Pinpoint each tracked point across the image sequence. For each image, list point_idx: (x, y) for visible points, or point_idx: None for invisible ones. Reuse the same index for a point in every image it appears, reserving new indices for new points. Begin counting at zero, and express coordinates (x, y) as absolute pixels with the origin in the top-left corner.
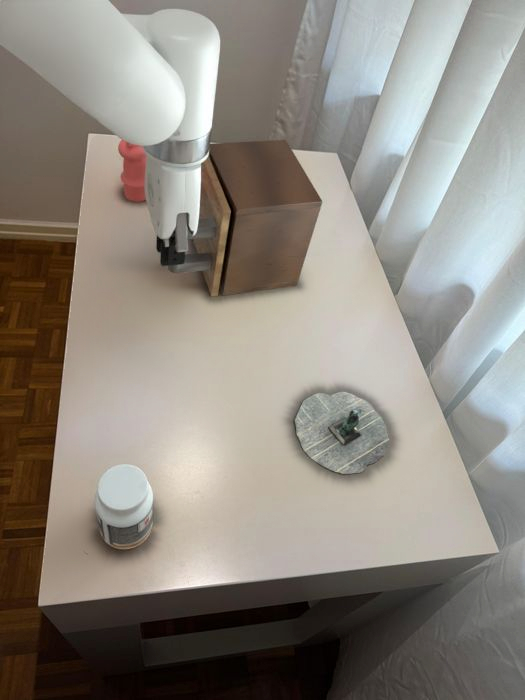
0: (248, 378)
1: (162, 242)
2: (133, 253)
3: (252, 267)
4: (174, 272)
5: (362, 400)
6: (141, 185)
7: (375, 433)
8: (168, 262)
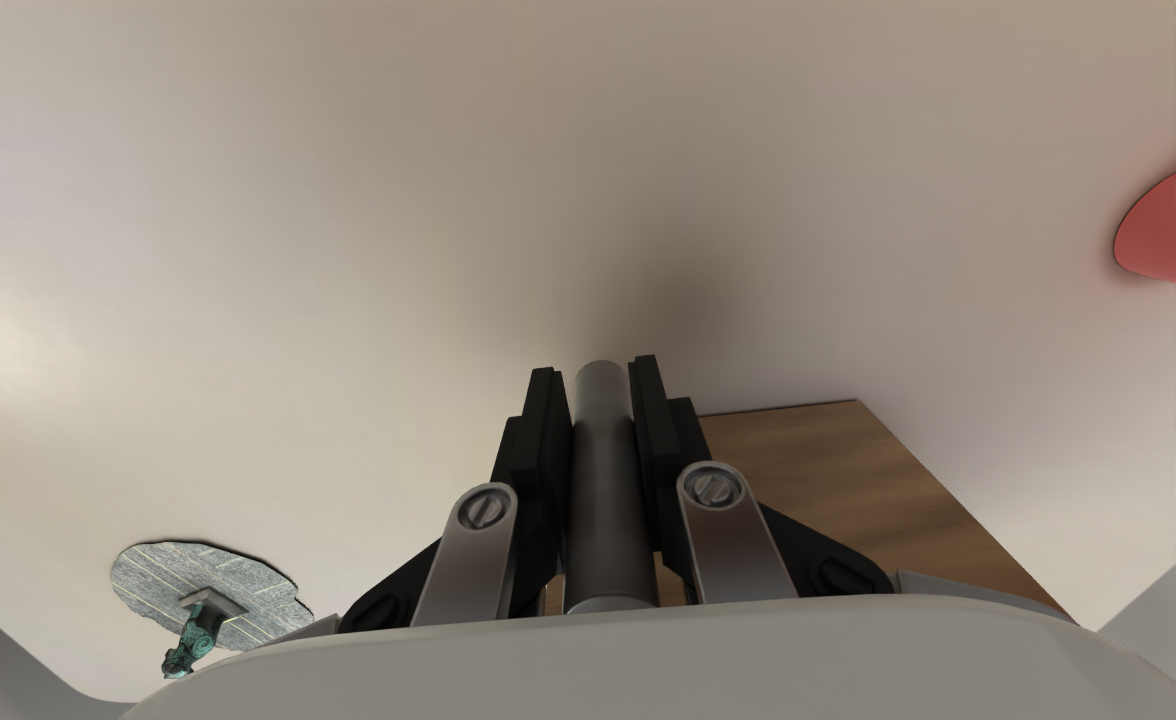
0: (290, 479)
1: (525, 475)
2: (802, 194)
3: None
4: (575, 381)
5: None
6: None
7: (231, 639)
8: (507, 420)
